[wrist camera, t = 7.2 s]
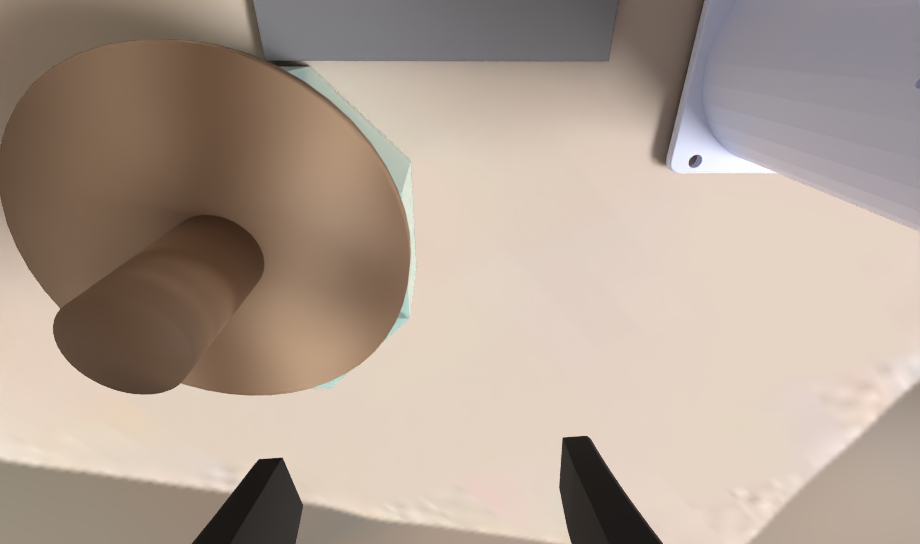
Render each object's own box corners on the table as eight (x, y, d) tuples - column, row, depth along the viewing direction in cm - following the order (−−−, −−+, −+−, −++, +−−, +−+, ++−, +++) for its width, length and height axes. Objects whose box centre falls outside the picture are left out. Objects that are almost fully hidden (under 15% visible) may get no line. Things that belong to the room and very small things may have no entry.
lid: (414, 57, 12) (393, 71, 7) (408, 385, 17) (395, 512, 13) (-59, 21, 11) (-437, 10, 6) (101, 376, 17) (-32, 507, 12)
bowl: (405, 66, 15) (393, 75, 12) (419, 327, 21) (414, 386, 17) (75, 65, 15) (-40, 74, 11) (179, 331, 20) (125, 392, 17)
